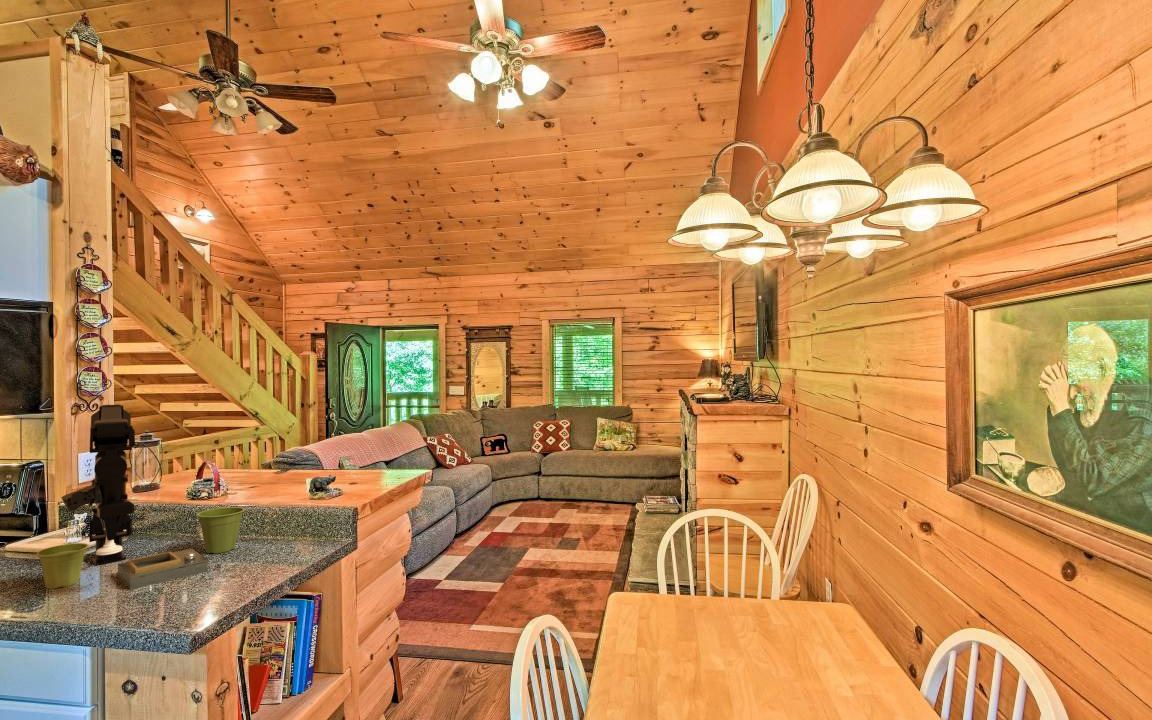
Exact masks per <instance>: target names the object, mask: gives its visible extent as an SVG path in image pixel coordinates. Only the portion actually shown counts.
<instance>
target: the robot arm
mask: <svg viewBox="0 0 1152 720" xmlns="http://www.w3.org/2000/svg"><path fill="white" fill-rule="evenodd" d="M98 409H99V410H97V411H96V412H95V413H92V415H91V416H90V428H89V429H90V430H89V454H95V453H96V455H95V456H94V461H95V462H94V468H93V470H94V478H93V479H91V485H89V486H86V487H82V488H80V489H78V490H74V491H72V492H70V493H67V494H65V495H63V496H61V500H62V502H63V505H64V506H65V508H66V510H67V511H68V512H73V511H76V510H78V509H79V508H81V507H83V506H86V505H87V506H88V507H92V506H93V505H95V508H91V509H90V510H91V512H92V513H93V514H92V518H91V519H89V525H88V526H89V532H88V534H89V541H88V542H89V543H92V542H95V552H96V551H97V550H98V549H100V548H102V547H104V546H103V545H105V541H106V536H107V540H108V541H109V540H114V543H115V545H120V546H122V549H123V550H124V548H123V547H124V545H123V544H124V543H123V540H124V537H129V536H131V535H133V518H132V517H131V516H130V515H131V514H133V513H134V514H135V504H134V503H133V502H132V501H130V500H129V499H128V497H129V495H128V493H127V483H128V482H129V477H128V476H127V470H128V462H127V453H126V451H132V450H133V447H135V446H136V434H135V433H136V432H135V429H134V428H133V427H134V426H133V425H132V415H131V413H130V412H129V411H127V410H125V409H124V405H123V404H102V405H99V408H98ZM104 528H105V530H104ZM123 550H122V551H120V552H117V553H114V554H109V555H96V554H95V557H92V558H91V562H93V564H94V565H95V566H97V565H104V564H109V563H114V562H119V561H123V560H126V559H127V556H126V555H125V554H124V553H123Z"/></svg>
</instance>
